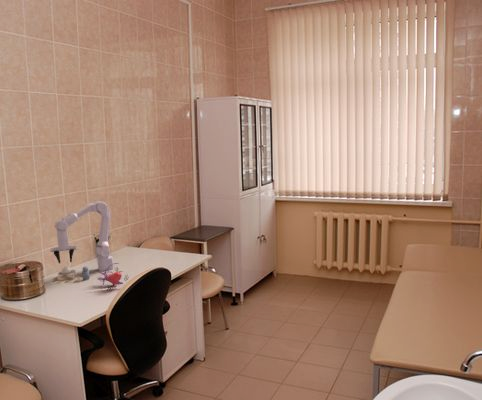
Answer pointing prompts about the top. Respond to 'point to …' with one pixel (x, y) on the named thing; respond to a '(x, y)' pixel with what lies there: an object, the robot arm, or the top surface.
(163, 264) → the top surface
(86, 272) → the pawn
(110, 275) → the heart model
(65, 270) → the dome
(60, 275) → the beige irregular flat piece
